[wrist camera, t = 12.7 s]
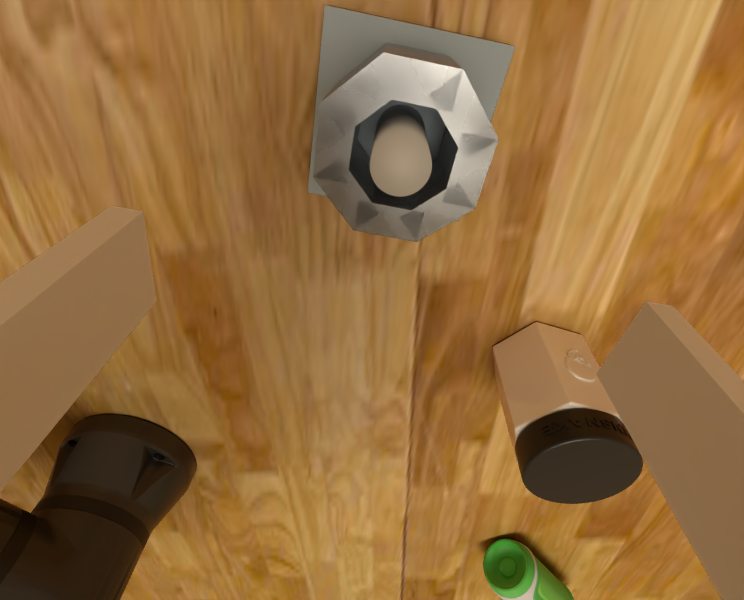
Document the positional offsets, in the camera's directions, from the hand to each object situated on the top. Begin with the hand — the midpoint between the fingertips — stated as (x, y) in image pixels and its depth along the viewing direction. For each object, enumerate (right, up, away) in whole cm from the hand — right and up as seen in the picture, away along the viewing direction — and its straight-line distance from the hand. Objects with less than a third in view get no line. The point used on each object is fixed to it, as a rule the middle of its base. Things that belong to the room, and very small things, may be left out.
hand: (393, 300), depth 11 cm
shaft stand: (+1, +12, +17) cm, 21 cm away
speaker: (+22, -39, +52) cm, 68 cm away
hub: (+1, +11, +15) cm, 18 cm away
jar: (+15, -5, +28) cm, 32 cm away
